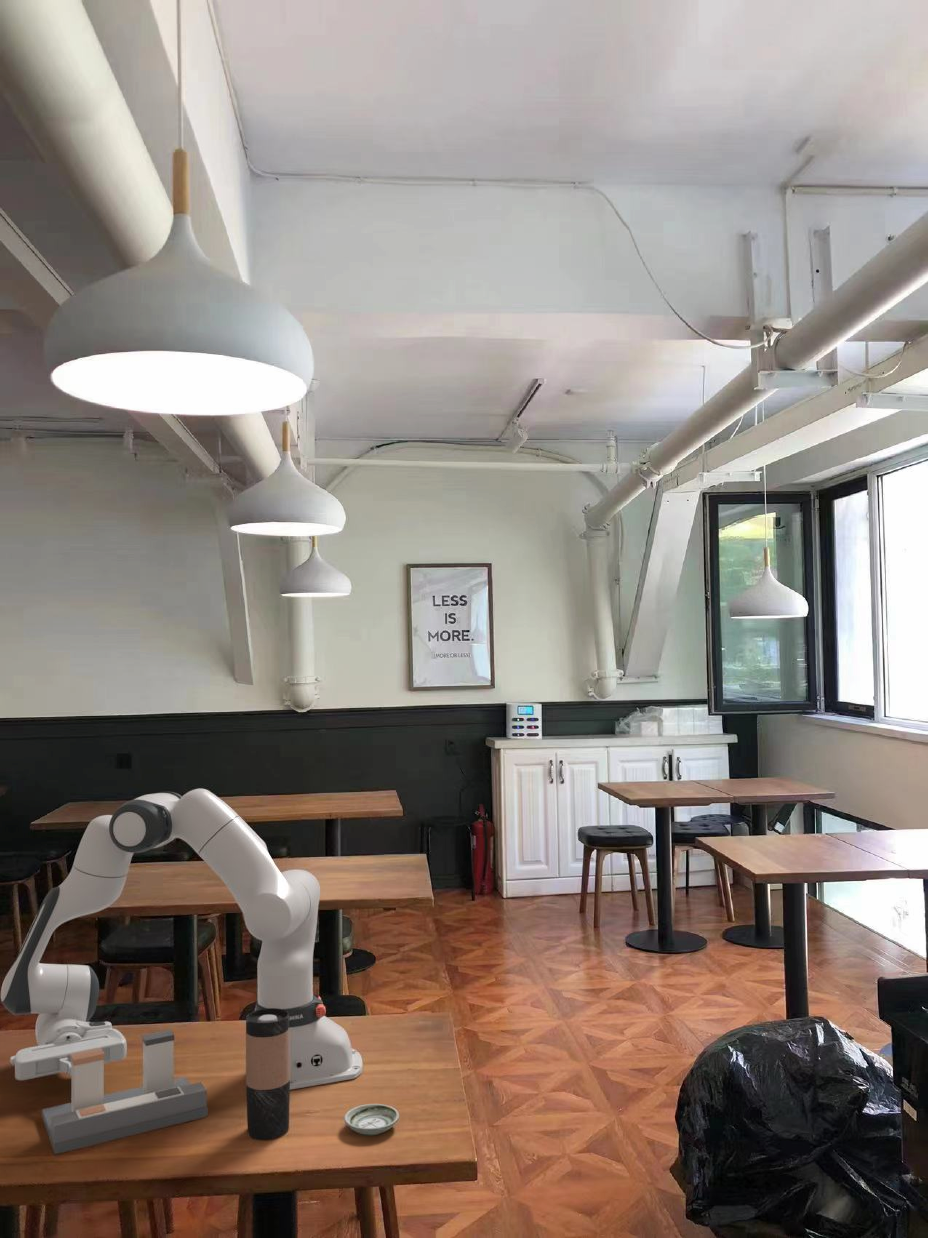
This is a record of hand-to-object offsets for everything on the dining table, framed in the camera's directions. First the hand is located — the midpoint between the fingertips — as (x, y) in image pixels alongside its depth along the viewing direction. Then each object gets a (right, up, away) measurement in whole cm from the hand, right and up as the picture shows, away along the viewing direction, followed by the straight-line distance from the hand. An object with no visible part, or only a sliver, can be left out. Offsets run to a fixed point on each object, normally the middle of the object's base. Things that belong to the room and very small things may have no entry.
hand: (77, 1069), depth 185 cm
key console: (+11, -6, -5) cm, 13 cm away
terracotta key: (+5, -4, -9) cm, 11 cm away
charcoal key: (+15, -5, 0) cm, 16 cm away
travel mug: (+38, -6, -11) cm, 40 cm away
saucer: (+56, -6, -11) cm, 58 cm away
